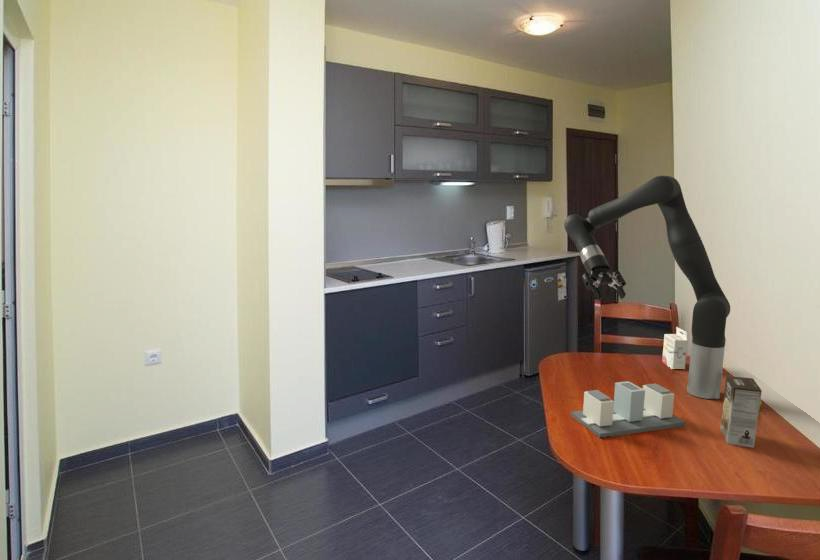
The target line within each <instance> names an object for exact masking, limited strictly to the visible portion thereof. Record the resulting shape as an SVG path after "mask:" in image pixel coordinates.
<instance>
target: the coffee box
mask: <svg viewBox="0 0 820 560" xmlns="http://www.w3.org/2000/svg"><path fill="white" fill-rule="evenodd" d="M724 387H725V388H724V393H723V395H724V396H723V403H722V412H721V419H720V420H721V421H720V430H721V433H722V435H723V437H724V439H725V442H726V443H727V444H728V445H734V446H740V447H747V448H752V449H754V448H755V443H756V437H757V427H758V422H759V421H758V420H759V415H760V414H759V413H760V406H761V401H762V400H761V399H762V392H763V391H762V389H761V388H760V386H759V384H758V383H757V382H756V380H755V379H754V378H752V377H743V376H742V377H741V376H732V375H726V379H725V386H724Z"/></svg>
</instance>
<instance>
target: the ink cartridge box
mask: <svg viewBox="0 0 820 560" xmlns="http://www.w3.org/2000/svg"><path fill="white" fill-rule="evenodd" d="M675 329H676V332H675V333H665V334H663V335H664V336H663V346H662V347H663V349H662V358H661V359H662V360H661V363H662V362H663V365H666V366H667V367H668V368H669V367H670V368H669V369H670V370H672V369H684V370H685V369H686V359H687V350H688V332H687V331H685V330H684V329H682V328H680V327H679V326H676V327H675Z"/></svg>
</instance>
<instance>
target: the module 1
mask: <svg viewBox="0 0 820 560" xmlns="http://www.w3.org/2000/svg"><path fill="white" fill-rule="evenodd" d="M613 407H614V400H612V399H611V397H610V396H608V395H607V394H605V393H603V392H601V391H600V390H598V389H595V390H593V389H592V390H587V391H584V392H583V406H582V410H583V415H585V416H586V417H587V418H589V419H590V420H591V421H593V422H594V423H595V424H597V425H598V426H608V425H612V420H613Z"/></svg>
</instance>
